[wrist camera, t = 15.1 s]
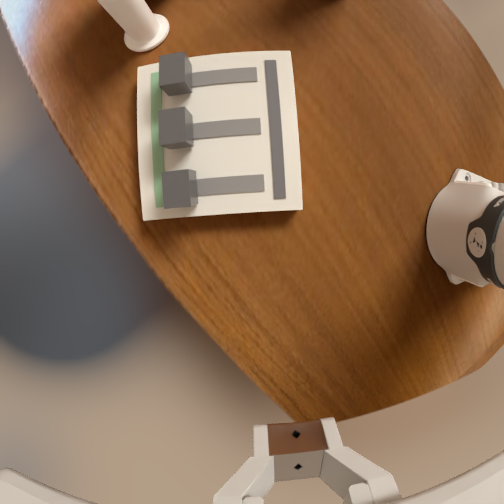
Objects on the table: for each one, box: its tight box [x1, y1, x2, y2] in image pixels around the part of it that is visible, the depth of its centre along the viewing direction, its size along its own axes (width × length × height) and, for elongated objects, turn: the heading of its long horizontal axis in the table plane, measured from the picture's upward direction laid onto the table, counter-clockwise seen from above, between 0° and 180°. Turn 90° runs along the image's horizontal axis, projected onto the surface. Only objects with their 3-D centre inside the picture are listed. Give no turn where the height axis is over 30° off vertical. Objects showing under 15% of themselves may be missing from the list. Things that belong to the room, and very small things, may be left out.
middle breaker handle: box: [158, 106, 194, 149], centre depth 31 cm, size 3×4×4 cm
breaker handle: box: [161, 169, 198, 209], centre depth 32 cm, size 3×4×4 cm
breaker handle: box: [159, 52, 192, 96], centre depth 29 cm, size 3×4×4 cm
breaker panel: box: [137, 51, 303, 221], centre depth 35 cm, size 20×21×3 cm
